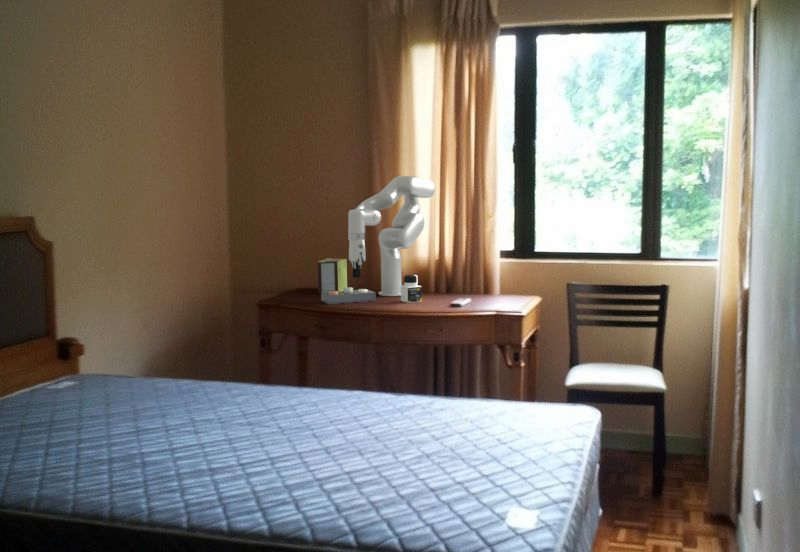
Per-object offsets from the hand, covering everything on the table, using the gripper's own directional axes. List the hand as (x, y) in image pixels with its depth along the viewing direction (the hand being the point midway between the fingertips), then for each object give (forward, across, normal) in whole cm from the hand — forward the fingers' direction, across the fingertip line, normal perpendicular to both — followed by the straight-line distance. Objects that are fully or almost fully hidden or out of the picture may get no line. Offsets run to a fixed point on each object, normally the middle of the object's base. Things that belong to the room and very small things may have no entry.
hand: (356, 277), depth 393 cm
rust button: (+9, +1, +11) cm, 14 cm away
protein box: (+10, +37, -1) cm, 38 cm away
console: (+11, +1, +4) cm, 11 cm away
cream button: (+9, +1, -3) cm, 10 cm away
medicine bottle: (+10, -14, -21) cm, 27 cm away
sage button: (+8, +1, +4) cm, 9 cm away
